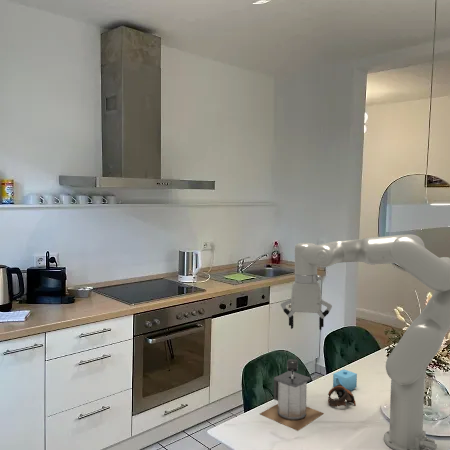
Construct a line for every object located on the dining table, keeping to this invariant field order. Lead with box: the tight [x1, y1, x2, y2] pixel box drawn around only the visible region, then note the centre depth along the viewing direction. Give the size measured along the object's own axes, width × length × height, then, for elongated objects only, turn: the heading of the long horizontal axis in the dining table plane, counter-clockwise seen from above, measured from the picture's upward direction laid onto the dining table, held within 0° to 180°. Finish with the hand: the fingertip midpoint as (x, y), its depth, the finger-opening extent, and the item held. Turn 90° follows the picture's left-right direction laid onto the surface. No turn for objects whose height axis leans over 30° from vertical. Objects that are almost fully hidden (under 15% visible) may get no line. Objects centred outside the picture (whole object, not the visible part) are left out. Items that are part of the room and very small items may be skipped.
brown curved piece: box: [327, 384, 357, 408], centre depth 164 cm, size 12×10×8 cm
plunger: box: [286, 358, 299, 379], centre depth 155 cm, size 7×7×16 cm
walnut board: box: [259, 403, 325, 432], centre depth 155 cm, size 16×16×1 cm
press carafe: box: [273, 370, 311, 421], centre depth 156 cm, size 12×10×13 cm
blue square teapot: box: [332, 369, 358, 392], centre depth 177 cm, size 12×6×8 cm, turn 131°
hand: (306, 328), depth 155 cm, fingers open, 9 cm apart
